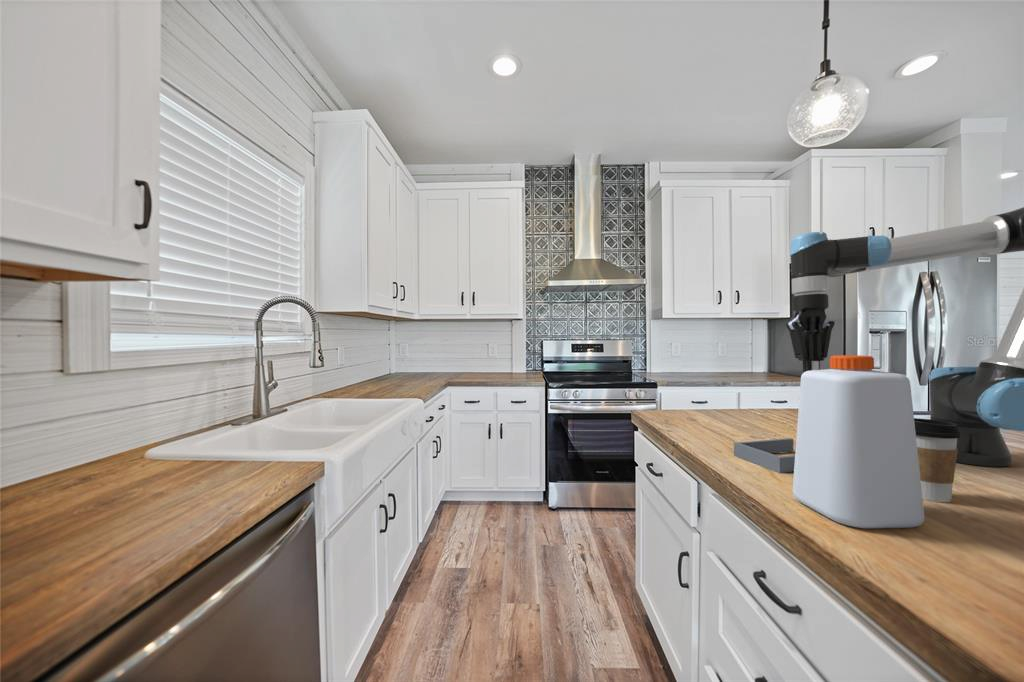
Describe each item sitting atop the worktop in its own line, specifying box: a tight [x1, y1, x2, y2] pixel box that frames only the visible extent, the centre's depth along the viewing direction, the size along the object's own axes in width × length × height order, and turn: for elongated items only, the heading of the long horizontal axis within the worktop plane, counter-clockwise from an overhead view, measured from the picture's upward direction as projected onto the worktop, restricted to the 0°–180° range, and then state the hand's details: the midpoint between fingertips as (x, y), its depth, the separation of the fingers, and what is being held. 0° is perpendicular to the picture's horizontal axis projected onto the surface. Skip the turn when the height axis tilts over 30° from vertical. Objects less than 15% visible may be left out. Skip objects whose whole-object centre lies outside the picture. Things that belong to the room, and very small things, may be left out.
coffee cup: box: [914, 417, 960, 503], centre depth 77 cm, size 8×8×15 cm
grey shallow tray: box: [733, 437, 795, 474], centre depth 100 cm, size 18×14×4 cm
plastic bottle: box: [792, 354, 926, 529], centre depth 71 cm, size 15×15×28 cm
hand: (811, 386), depth 102 cm, fingers closed
